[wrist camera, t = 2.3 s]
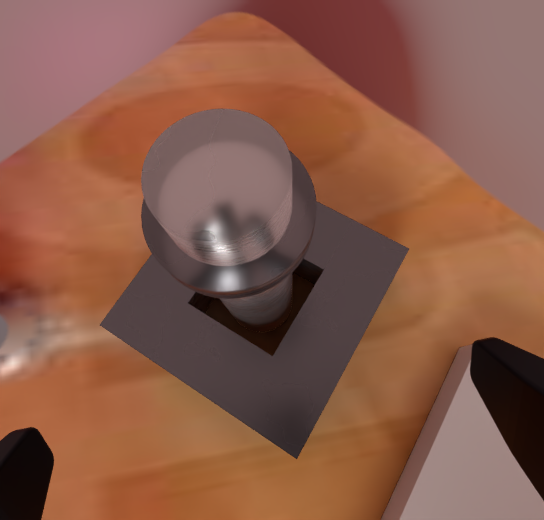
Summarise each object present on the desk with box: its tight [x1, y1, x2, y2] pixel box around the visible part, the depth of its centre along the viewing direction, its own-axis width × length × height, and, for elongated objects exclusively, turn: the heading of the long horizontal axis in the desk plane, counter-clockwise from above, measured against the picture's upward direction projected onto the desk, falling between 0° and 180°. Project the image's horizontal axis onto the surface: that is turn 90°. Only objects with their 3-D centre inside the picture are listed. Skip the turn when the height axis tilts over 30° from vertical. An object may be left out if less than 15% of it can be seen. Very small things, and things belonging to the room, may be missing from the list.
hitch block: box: [100, 201, 409, 459], centre depth 19 cm, size 10×10×3 cm
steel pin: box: [141, 109, 317, 332], centre depth 14 cm, size 4×4×12 cm
